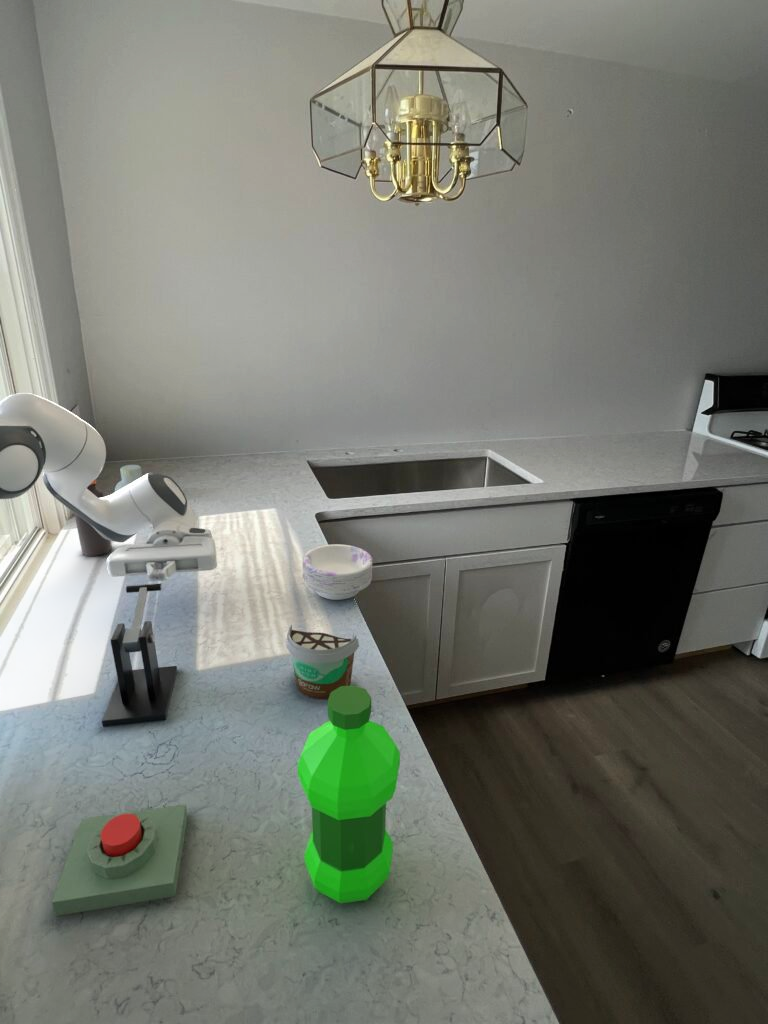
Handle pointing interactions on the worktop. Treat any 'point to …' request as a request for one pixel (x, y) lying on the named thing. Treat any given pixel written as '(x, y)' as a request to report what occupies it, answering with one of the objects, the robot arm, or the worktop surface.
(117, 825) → the button
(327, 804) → the plastic bottle
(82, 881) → the button box
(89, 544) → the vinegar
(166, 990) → the worktop surface
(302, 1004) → the worktop surface
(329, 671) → the food container
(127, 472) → the air freshener
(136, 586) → the lever
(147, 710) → the bracket
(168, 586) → the worktop surface
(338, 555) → the paper bowls
